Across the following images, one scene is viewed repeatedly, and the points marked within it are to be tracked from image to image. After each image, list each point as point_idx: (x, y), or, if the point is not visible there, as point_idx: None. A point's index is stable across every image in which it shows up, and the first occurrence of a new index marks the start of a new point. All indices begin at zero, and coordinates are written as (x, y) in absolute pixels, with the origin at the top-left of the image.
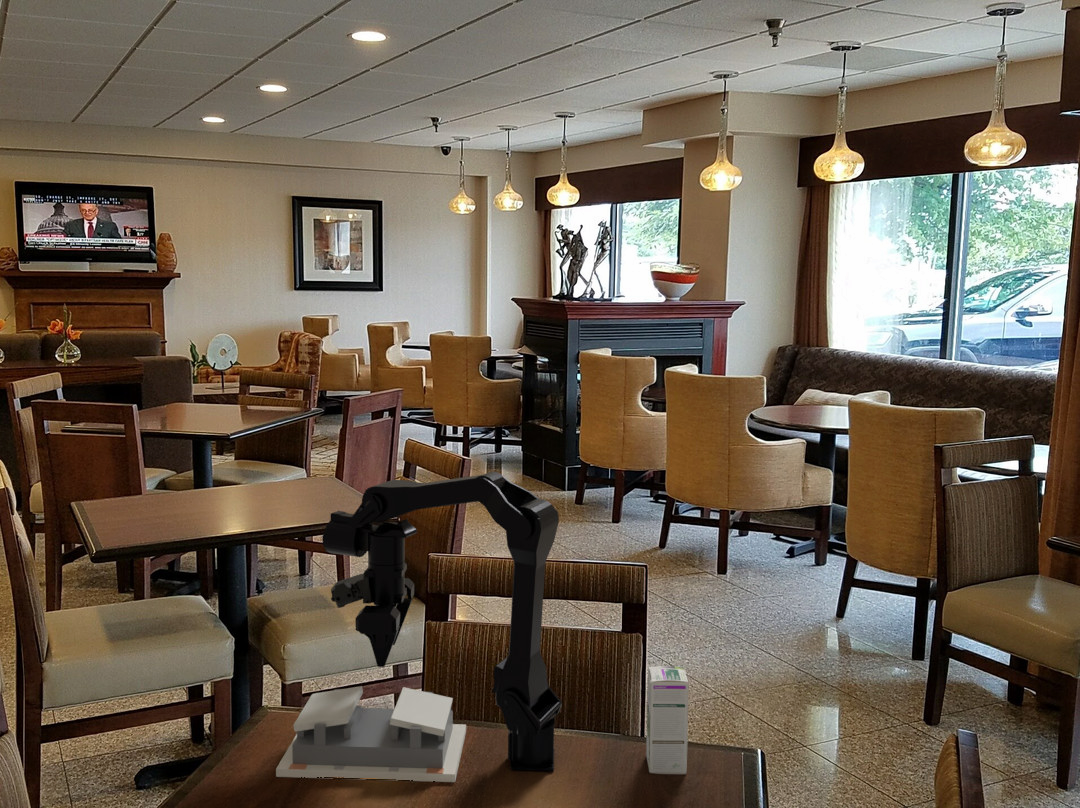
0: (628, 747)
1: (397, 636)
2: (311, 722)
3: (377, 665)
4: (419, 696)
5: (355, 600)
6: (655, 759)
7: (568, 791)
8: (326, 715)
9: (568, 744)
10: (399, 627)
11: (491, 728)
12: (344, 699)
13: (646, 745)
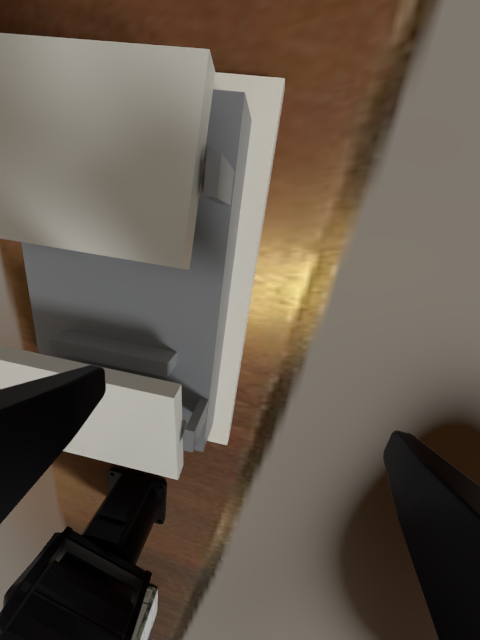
0: (178, 581)
1: (398, 519)
2: None
3: (86, 366)
4: (142, 425)
5: None
6: None
7: (74, 505)
8: None
9: (185, 536)
10: (436, 612)
11: (239, 469)
12: (88, 209)
13: (147, 605)
